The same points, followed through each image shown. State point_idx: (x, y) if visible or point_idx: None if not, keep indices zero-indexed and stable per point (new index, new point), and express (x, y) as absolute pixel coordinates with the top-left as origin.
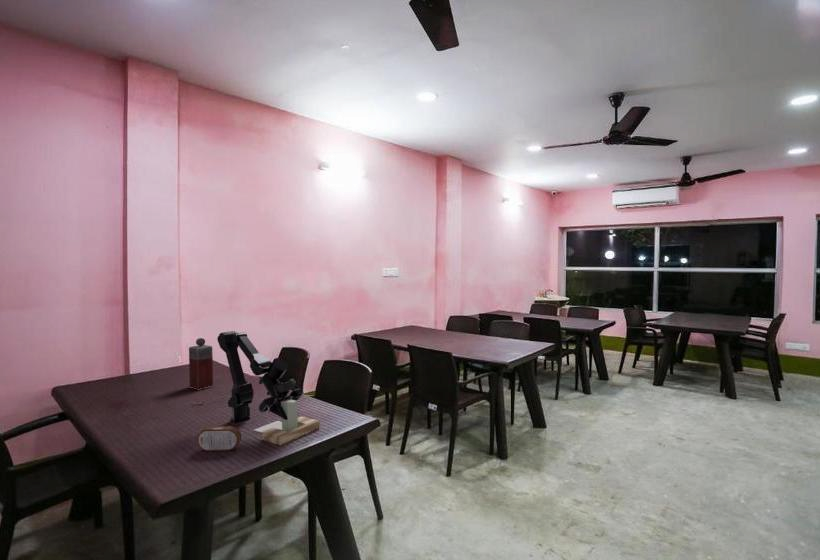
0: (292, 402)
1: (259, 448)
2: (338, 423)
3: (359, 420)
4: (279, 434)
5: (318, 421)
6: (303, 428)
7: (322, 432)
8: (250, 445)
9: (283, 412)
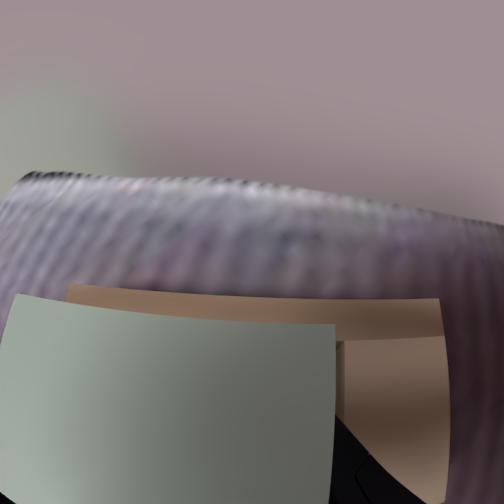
0: (114, 333)
1: (493, 381)
2: (33, 259)
3: (12, 212)
4: (415, 349)
5: (77, 284)
6: (214, 298)
7: (145, 249)
8: (494, 456)
9: (340, 440)
